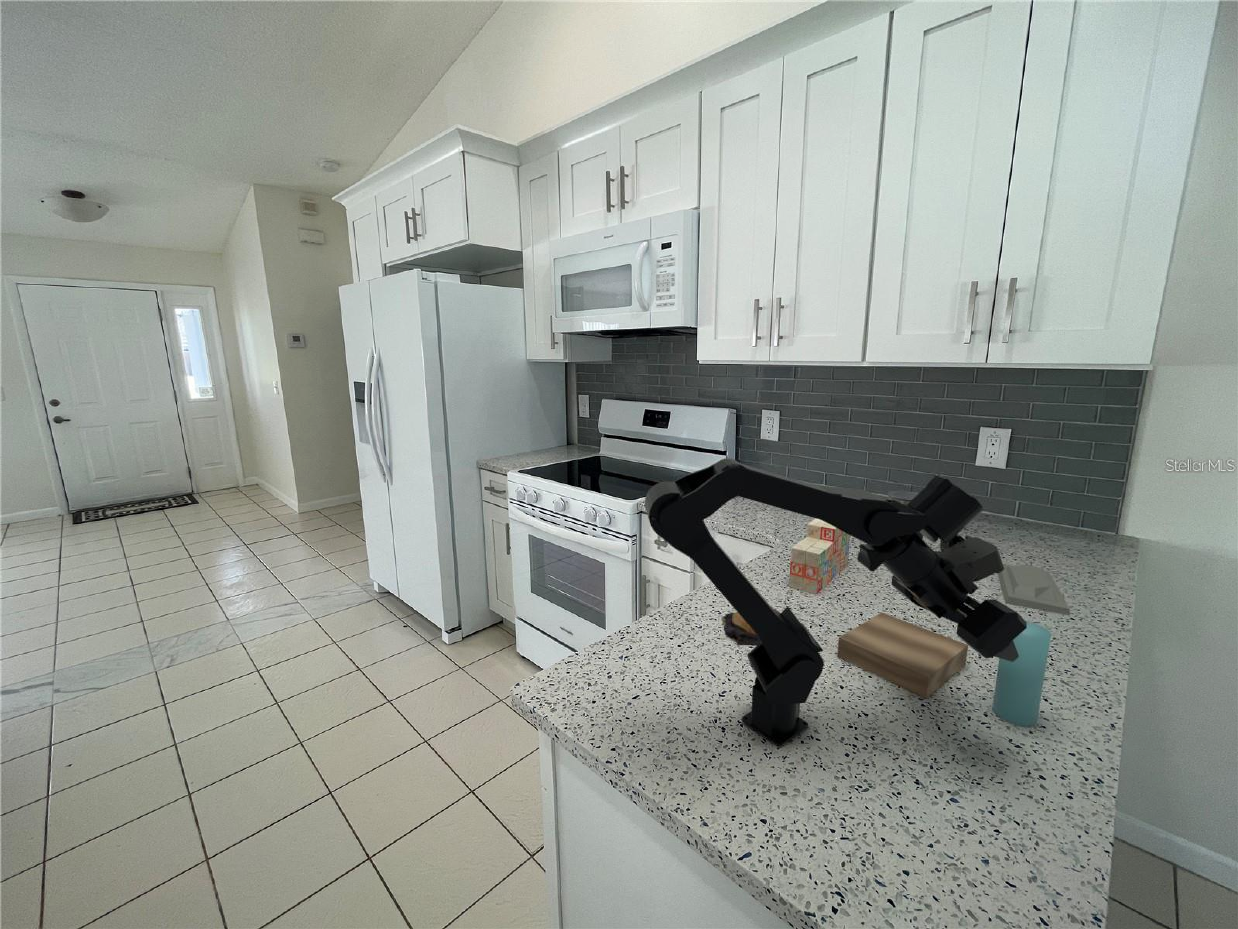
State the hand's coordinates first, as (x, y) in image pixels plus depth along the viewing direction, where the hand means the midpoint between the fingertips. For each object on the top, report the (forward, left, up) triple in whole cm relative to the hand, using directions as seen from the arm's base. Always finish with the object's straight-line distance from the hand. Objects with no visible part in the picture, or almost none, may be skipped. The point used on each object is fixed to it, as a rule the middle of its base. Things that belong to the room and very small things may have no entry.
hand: (988, 639), depth 70 cm
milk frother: (+57, +33, -12) cm, 67 cm away
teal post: (+4, -3, -12) cm, 13 cm away
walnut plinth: (+5, +13, -12) cm, 18 cm away
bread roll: (-7, +35, -12) cm, 38 cm away
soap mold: (+53, +9, -12) cm, 56 cm away
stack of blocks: (+26, +41, -12) cm, 50 cm away
